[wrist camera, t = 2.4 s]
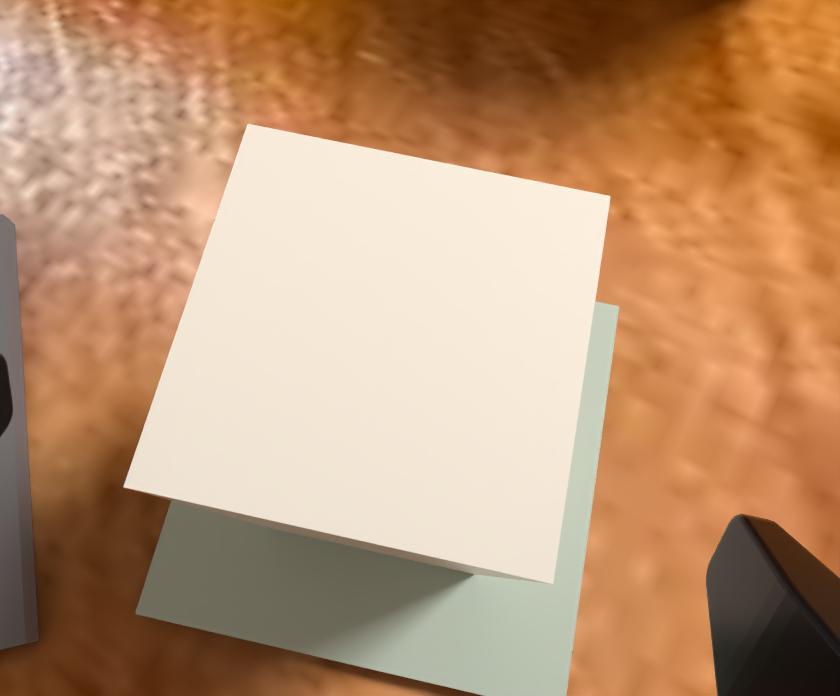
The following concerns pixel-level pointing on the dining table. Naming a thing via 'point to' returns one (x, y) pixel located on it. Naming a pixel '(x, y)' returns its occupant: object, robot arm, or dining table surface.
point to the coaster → (390, 585)
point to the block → (382, 356)
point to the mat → (14, 469)
